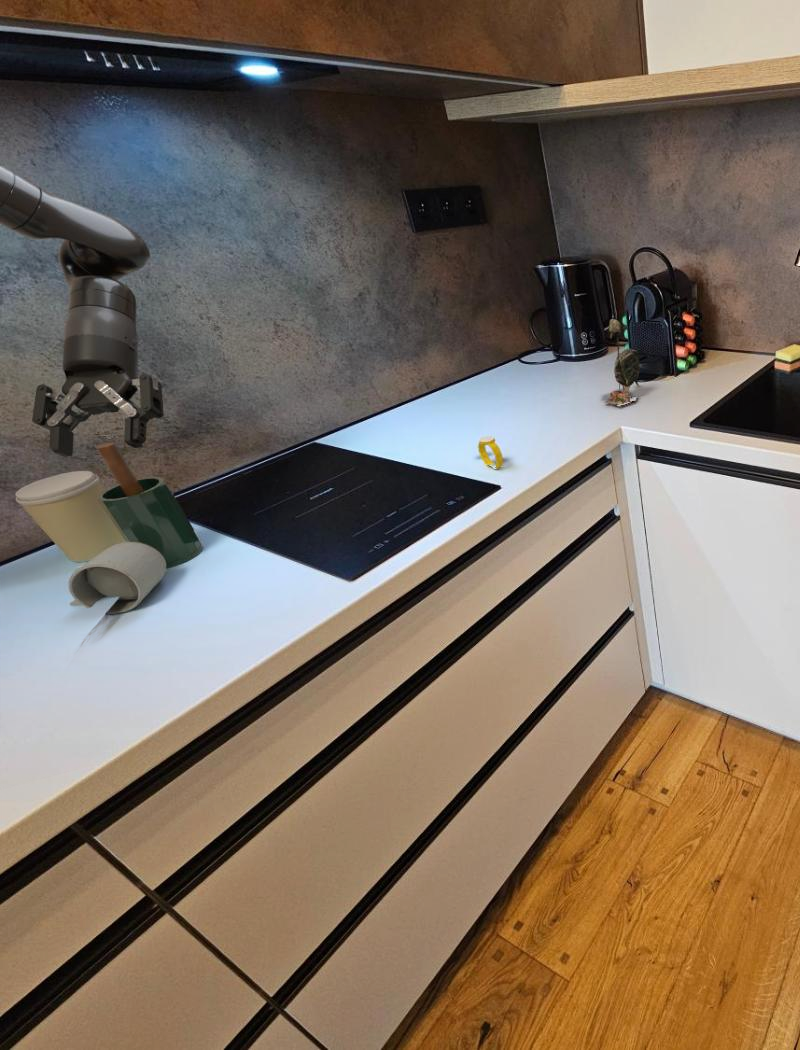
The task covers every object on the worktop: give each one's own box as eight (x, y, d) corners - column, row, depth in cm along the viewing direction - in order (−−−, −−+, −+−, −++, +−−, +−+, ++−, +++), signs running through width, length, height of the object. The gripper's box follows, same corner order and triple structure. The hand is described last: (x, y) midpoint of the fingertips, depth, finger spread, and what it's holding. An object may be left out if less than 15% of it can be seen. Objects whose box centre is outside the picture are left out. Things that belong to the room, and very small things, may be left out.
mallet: (149, 562, 89) (77, 453, 80) (161, 547, 92) (94, 442, 83) (182, 555, 90) (115, 448, 81) (193, 541, 94) (131, 436, 84)
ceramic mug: (181, 574, 87) (151, 530, 83) (153, 606, 80) (120, 560, 76) (98, 590, 85) (64, 546, 81) (62, 625, 78) (23, 579, 74)
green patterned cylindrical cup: (134, 575, 88) (86, 505, 81) (156, 549, 94) (113, 482, 88) (193, 563, 89) (150, 494, 83) (211, 539, 96) (172, 473, 89)
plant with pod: (653, 397, 144) (644, 313, 133) (616, 410, 137) (604, 322, 127) (633, 391, 149) (623, 309, 138) (596, 403, 142) (583, 318, 132)
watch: (479, 466, 114) (471, 437, 111) (491, 461, 116) (483, 432, 113) (496, 473, 111) (489, 444, 108) (508, 468, 113) (501, 439, 110)
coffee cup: (136, 527, 101) (95, 464, 94) (139, 547, 94) (95, 481, 88) (64, 550, 95) (15, 484, 89) (61, 572, 89) (9, 504, 83)
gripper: (18, 338, 80) (10, 447, 76) (137, 326, 82) (135, 431, 79) (68, 366, 87) (63, 467, 83) (176, 355, 89) (176, 453, 86)
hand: (98, 450), depth 81 cm, fingers open, 8 cm apart
